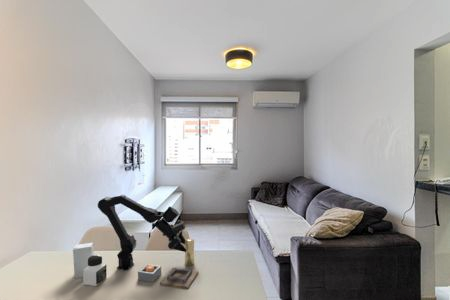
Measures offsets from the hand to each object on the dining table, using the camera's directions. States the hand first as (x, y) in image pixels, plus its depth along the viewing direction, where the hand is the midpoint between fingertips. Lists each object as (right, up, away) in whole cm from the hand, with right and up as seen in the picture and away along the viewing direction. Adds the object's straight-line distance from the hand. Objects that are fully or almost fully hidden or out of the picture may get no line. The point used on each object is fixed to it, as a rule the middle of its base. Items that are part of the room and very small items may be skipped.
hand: (186, 247), depth 135 cm
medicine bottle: (-41, -10, -17) cm, 45 cm away
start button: (-16, -8, -13) cm, 22 cm away
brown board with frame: (-1, -9, -14) cm, 17 cm away
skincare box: (-50, -9, -11) cm, 52 cm away
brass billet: (+2, -9, 0) cm, 9 cm away
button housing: (-16, -9, -13) cm, 23 cm away
